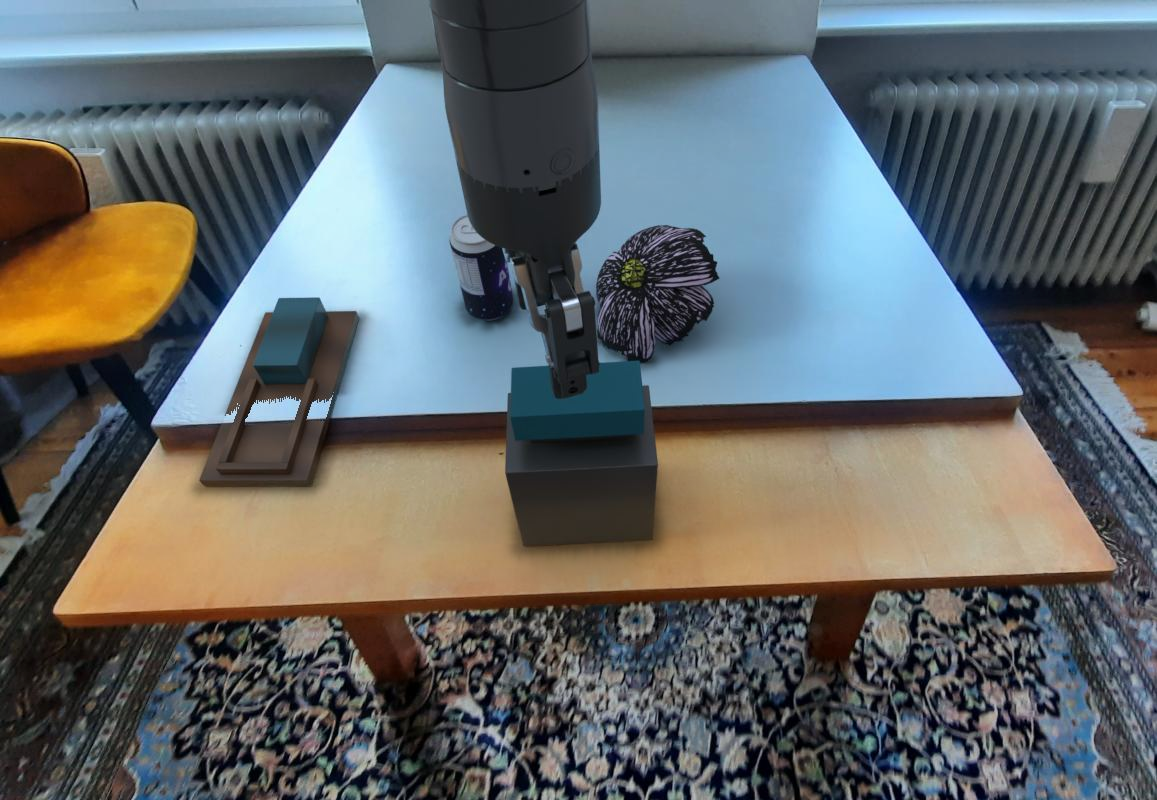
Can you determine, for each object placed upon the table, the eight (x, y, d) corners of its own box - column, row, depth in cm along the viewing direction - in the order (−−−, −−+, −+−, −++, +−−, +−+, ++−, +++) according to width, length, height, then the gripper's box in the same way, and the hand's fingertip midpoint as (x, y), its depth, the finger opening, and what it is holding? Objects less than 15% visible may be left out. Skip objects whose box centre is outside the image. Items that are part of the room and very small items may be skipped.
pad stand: (523, 546, 68) (501, 459, 56) (524, 472, 73) (504, 377, 61) (652, 540, 67) (659, 451, 56) (645, 466, 72) (649, 369, 60)
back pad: (515, 441, 57) (509, 417, 54) (516, 392, 60) (511, 367, 57) (644, 434, 57) (645, 409, 54) (639, 385, 59) (639, 360, 57)
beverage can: (512, 324, 85) (498, 244, 75) (464, 325, 85) (444, 246, 75) (515, 290, 88) (502, 209, 79) (469, 291, 88) (450, 211, 79)
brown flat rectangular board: (311, 486, 73) (295, 462, 69) (204, 486, 73) (183, 463, 70) (359, 317, 87) (348, 290, 83) (268, 319, 87) (254, 292, 84)
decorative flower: (554, 236, 79) (685, 180, 77) (581, 282, 90) (696, 234, 88) (595, 353, 74) (737, 296, 72) (619, 387, 85) (742, 338, 83)
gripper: (428, 84, 41) (475, 291, 54) (487, 241, 33) (526, 442, 46) (555, 56, 42) (571, 266, 55) (644, 202, 34) (639, 409, 47)
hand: (551, 346), depth 51 cm, fingers open, 8 cm apart
